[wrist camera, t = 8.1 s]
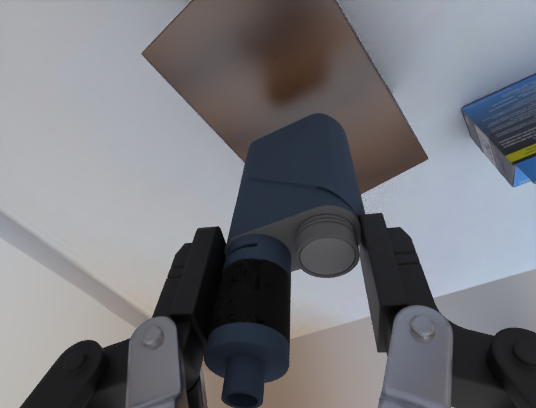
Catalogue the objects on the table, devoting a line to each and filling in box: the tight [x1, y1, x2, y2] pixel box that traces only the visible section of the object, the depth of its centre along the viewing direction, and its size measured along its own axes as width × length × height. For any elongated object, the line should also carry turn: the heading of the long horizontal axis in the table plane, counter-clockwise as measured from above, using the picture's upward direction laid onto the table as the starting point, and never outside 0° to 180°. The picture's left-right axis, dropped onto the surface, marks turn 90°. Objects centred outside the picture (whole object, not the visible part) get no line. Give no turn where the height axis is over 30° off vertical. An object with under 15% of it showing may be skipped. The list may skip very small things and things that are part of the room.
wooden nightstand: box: [142, 0, 428, 194], centre depth 25 cm, size 16×10×11 cm, turn 39°
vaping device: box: [204, 113, 365, 408], centre depth 13 cm, size 3×5×12 cm, turn 118°
